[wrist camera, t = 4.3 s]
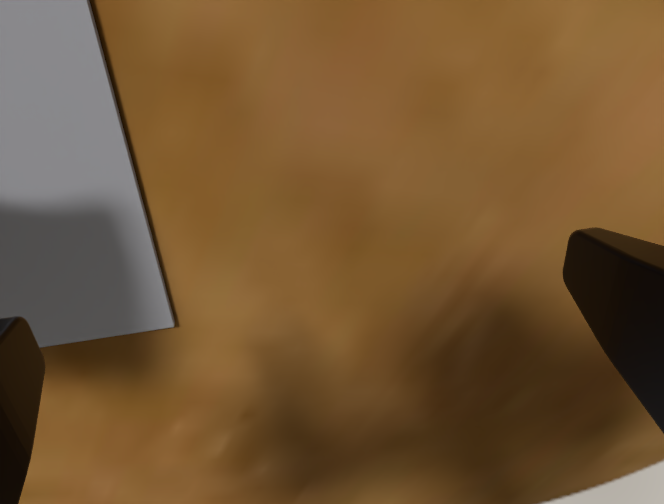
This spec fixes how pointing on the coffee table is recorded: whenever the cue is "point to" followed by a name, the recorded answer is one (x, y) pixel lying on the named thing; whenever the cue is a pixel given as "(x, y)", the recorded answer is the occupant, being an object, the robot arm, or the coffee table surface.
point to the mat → (69, 185)
